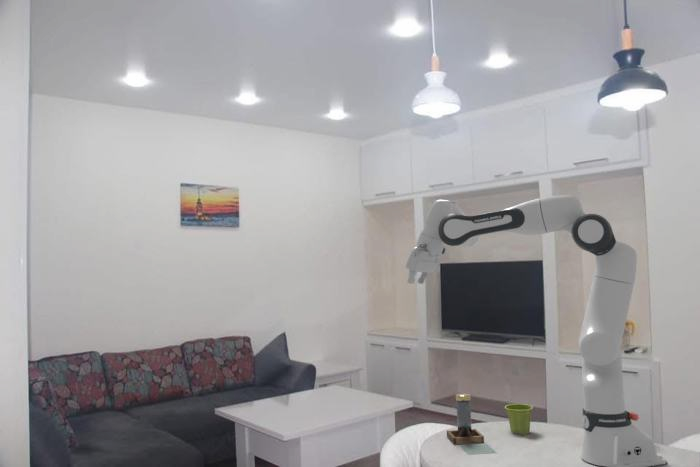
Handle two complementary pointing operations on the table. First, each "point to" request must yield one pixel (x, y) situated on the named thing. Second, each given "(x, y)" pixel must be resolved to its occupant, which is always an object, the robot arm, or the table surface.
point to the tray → (475, 437)
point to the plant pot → (519, 417)
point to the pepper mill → (463, 415)
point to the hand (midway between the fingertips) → (415, 283)
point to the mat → (478, 449)
